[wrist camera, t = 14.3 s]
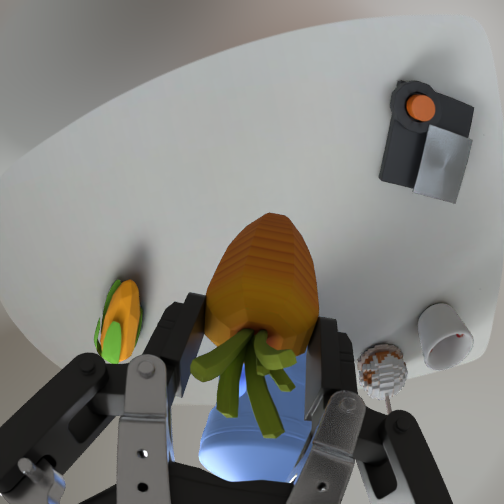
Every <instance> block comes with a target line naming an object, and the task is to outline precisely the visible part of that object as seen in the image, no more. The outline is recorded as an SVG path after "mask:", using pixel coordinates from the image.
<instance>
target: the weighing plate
mask: <svg viewBox="0 0 504 504" xmlns="http://www.w3.org/2000/svg"><path fill="white" fill-rule="evenodd" d="M471 145H472V140H471V139H469V138H466V137H464V136H461V135H458V134H456V133H453V132H450V131H447V130H444V129H442V128H439V127H436V126H433V125H430V124H429V125H428V130H427V135H426V139H425V144H424V148H423V152H422V157H421V161H420V165H419V169H418V173H417V176H416V180H415V184H414V188H413V191H412V192H413V193H417V194H421V195H425V196H429V197H432V198H436V199H440V200H443V201H447V202H451V203H454V204H455V203H456V200H457V196H458V193H459V190H460V186H461V183H462V179H463V176H464V172H465V169H466V165H467V161H468V157H469V153H470V149H471Z"/></svg>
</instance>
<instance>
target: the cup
mask: <svg viewBox="0 0 504 504" xmlns="http://www.w3.org/2000/svg"><path fill="white" fill-rule="evenodd" d="M418 333H419V337H420V342H421V347H422V351H423V356H424V361H425V364H426V365H427V366H428V367H429V368H430V369H433V370H445V369H449V368H452V367H454V366H455V365H457V364H459V363H460V362H461V361H463V360H464V359H465V358H466V357H467V356H468V354H469V353H470V351H471V349H472V347H473V342H474V340H473V336H472V334H471V333H470V331H469V330H468V328H467V327H466V325H465V324H464V323H463V321H462V320H461V318H460V317H459V315H458V314H457V313H456V311H455V310H454V309H453V308H452V307H451V306H449V305H447V304H444V303H439V304H435V305H432V306H430V307H429V308H427V309H426V310H425V311H424V312H423V313H422V315H421V316H420V318H419V321H418Z"/></svg>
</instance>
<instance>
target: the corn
mask: <svg viewBox="0 0 504 504" xmlns="http://www.w3.org/2000/svg"><path fill="white" fill-rule="evenodd" d="M141 325H142V308H141V306H140V303H139V290H138V287H137V285H136V283H135V282H133V281H132V280H130V279H129V280H127V281H124V282H122V283H121V281H120V280H118V279H117V280H116V281H115V282H114V284H113V285H112V287H111V289H110V291H109V293H108V295H107V299H106V302H105V306H104V310H103V318H102V326H101V339H100V342H101V345H100V343H99V341H98V334H99V330H100V318H99V320H98V324H97V327H96V331H95V335H94V343H95V346H96V349H97V352H98V354H99V355H100V356H101V357H103V359H105V360H107V361H108V362H110V363H112V364H118V363H119V362H120V361H123V360H125V359H127V358H128V357H130V356H131V354H132V352H133V350H134V348H135V346H136V343H137V340H138V337H139V334H140V330H141Z"/></svg>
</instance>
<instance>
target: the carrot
mask: <svg viewBox="0 0 504 504" xmlns="http://www.w3.org/2000/svg"><path fill="white" fill-rule="evenodd" d="M206 296H207V297H206V307H205V326H204V334H205V335H206V336H207V337H208V338H209V339H210V340H211V341H212V342H213V343H214V344H215V345H216V346H217V348H215V349H214V350H212V351H211V352H209V353H207V354H204V355H202V356H199V357H197V358H195V359H193V360H192V363H191V365H190V373H191V374H192V375H193V376H194V377H195V378H196V379H198V380H199V381H201V382H206V381H210V380H212V379H214V378H216V377H218V376H219V375H220V377H219V383H218V390H217V407H216V409H217V410H218V411H219V412H220V413H222V414H223V415H224V416H225V417H226V418H238V407H239V382H240V377H241V372H242V368H243V364H244V365H245V377H246V386H247V393H248V396H249V400H250V403H251V406H252V410H253V413H254V416H255V419H256V421H257V423H258V426H259V428H260V431H261V433H262V436H263V437H264V438H277V437H279V436H280V435H281V434H283V433H284V432H285V430H284V427H283V424H282V422H281V419H280V416H279V413H278V411H277V408H276V406H275V404H274V402H273V399H272V397H271V395H270V392H269V390H268V387H267V383H266V379H265V375H268V374H269V375H270V376H271V377H272V379H273V380H274V382H275V383H276V385H277V386H278V387H279V389H280V390H281V391H285V392H291V391H292V390H293V389H295V387H296V386H295V385H294V383H293V382H292V380H291V379H290V378H289V376H288V375H287V374H286V372H285V371H284V369H283V368H287V367H290V366H292V365H294V364H296V363H297V360H296V356H299V355H301V354H303V353H305V351H306V348H307V346H308V343H309V341H310V338H311V335H312V332H313V330H314V327H315V324H316V321H317V319H318V316H319V302H318V292H317V282H316V276H315V270H314V264H313V260H312V257H311V255H310V252H309V250H308V247H307V245H306V243H305V241H304V239H303V237H302V235H301V234H300V233H299V231H298V230H297V229H296V227H295V226H294V225H293V223H292V222H291V220H290V219H289V218H288V217H286V216H285V215H280V214H274V213H267V214H265V215H263V216H262V217H260V218H258V219H257V220H255V221H254V222H252V223H251V224H249V225H247V226H246V227H245V228H244V229H243V230H242V231H241V232H240V233H239V234H238V235H237V236H236V238H235V239H234V240H233V241H232V242H231V244H230V245H229V246H228V248H227V250H226V252H225V253H224V255H223V257H222V259H221V261H220V263H219V265H218V267H217V269H216V271H215V273H214V275H213V278H212V280H211V282H210V284H209V286H208V288H207V293H206Z"/></svg>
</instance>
